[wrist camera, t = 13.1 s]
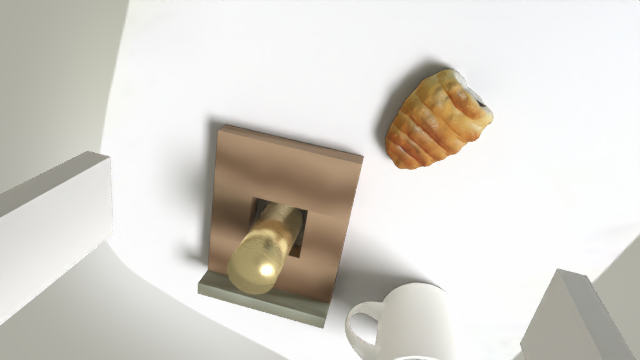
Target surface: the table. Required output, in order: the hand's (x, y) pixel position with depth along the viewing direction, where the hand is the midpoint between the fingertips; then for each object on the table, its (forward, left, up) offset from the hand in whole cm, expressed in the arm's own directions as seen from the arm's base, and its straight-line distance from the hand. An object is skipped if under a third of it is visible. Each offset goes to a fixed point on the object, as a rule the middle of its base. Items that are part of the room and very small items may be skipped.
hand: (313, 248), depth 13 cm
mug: (+24, +8, -29) cm, 38 cm away
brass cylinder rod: (+17, -7, -29) cm, 34 cm away
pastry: (+3, +6, -29) cm, 30 cm away
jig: (+17, -7, -29) cm, 34 cm away
